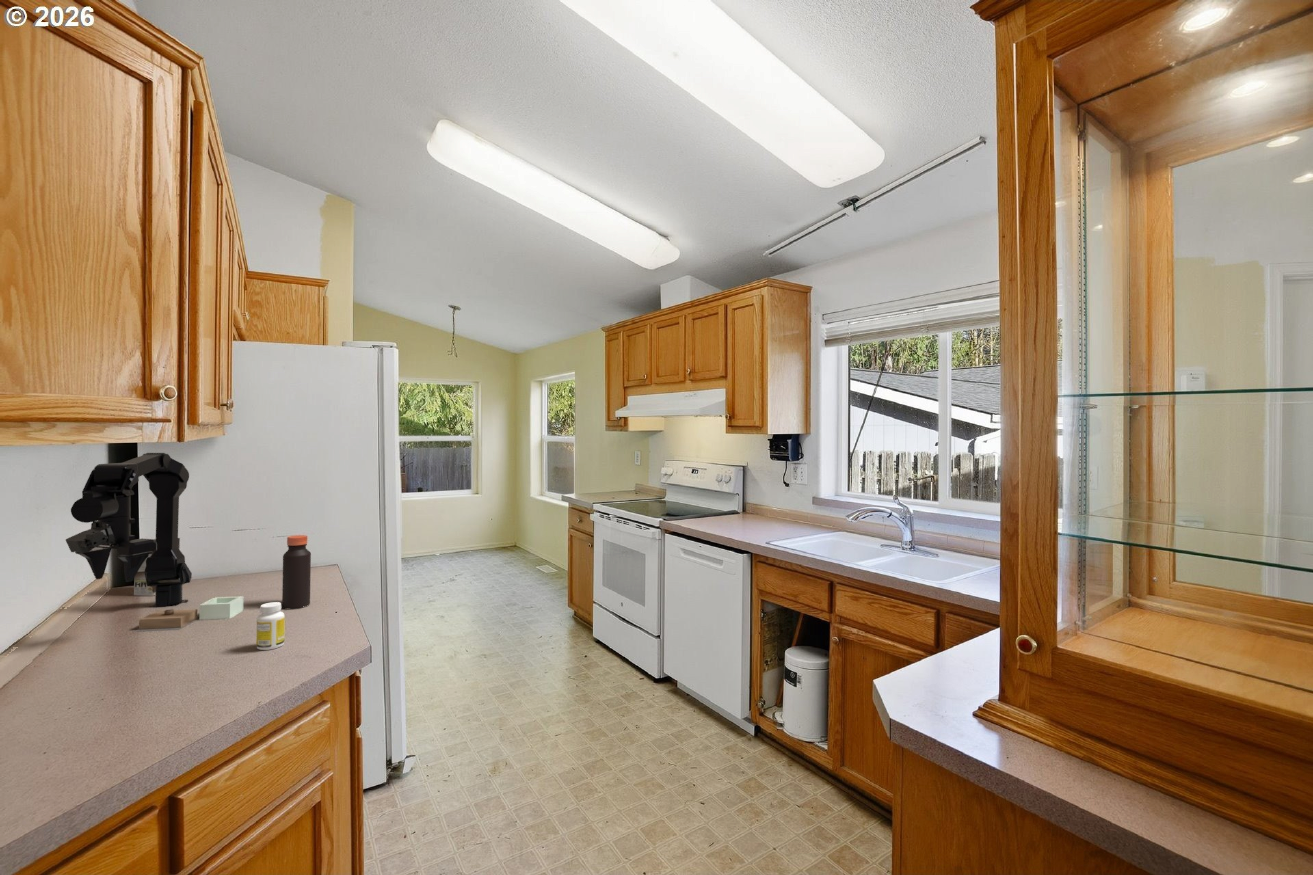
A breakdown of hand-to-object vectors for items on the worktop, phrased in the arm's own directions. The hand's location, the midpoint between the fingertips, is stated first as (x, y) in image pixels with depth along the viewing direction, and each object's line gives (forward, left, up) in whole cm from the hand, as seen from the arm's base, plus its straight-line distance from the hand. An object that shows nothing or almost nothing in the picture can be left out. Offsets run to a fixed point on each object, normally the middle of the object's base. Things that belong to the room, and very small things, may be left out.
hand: (113, 580), depth 136 cm
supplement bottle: (+13, +39, -14) cm, 44 cm away
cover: (-6, +8, -13) cm, 17 cm away
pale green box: (-12, +17, -14) cm, 25 cm away
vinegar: (-20, +32, -14) cm, 40 cm away
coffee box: (-42, -15, -14) cm, 47 cm away
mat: (-6, +8, -14) cm, 17 cm away
